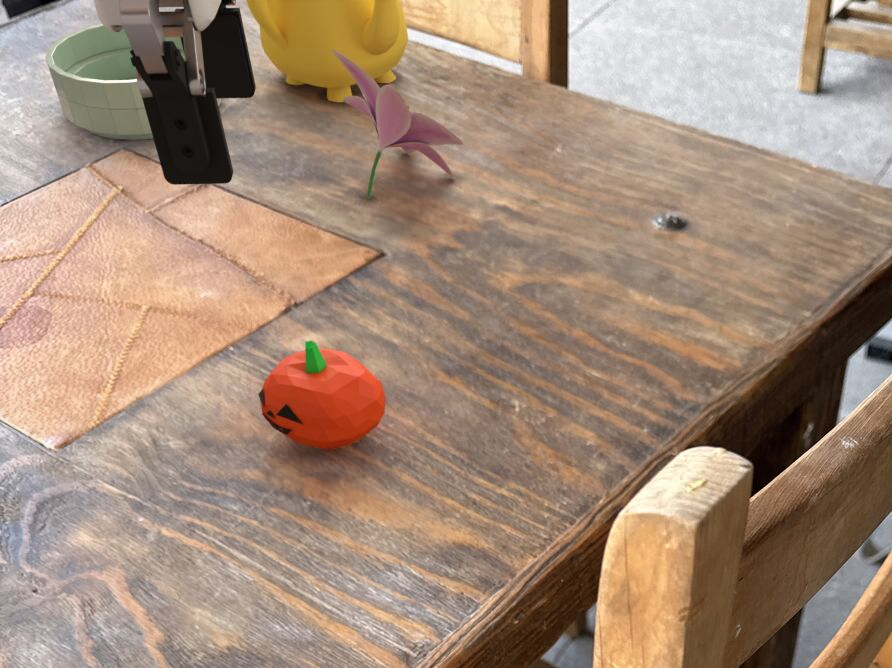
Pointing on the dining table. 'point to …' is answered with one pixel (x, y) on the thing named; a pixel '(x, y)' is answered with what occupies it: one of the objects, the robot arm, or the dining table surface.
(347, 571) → the dining table surface
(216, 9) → the robot arm
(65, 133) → the dining table surface
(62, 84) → the bowl
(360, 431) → the pumpkin
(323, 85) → the yellow rounded piece
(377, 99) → the lily
